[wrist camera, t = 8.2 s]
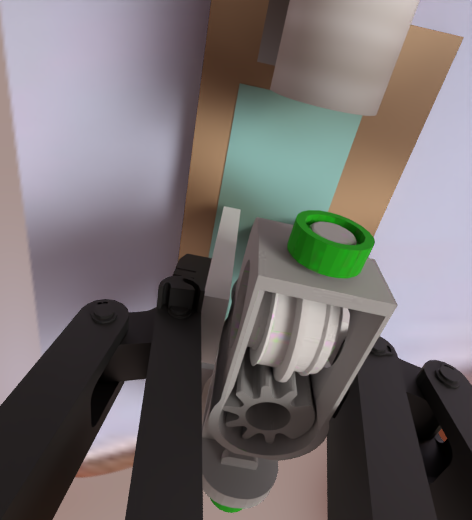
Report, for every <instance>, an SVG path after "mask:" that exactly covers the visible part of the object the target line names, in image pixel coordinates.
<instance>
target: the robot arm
mask: <svg viewBox="0 0 472 520" xmlns="http://www.w3.org/2000/svg"><path fill="white" fill-rule="evenodd" d="M240 211H241V210H240V209H235V208H230V207H225V206H224V208H223V212H222V217H221V221H220V226H219V230H218V234H217V239H216V243H215V247H214V252H213V256H212V258H208V257H203V256H198V255H193V254H186V255H184V256H183V257H182V258H180V259H179V261H178V263H177V266H176V269H175V271H174V274H173V276H171V277H168V278H166V279H164V280H163V281H161V283H160V285H159V289H158V300H157V307H156V308H154V309H152V310H148V311H143V312H128V309H127V308H126V307H125V306H124V305H123V304H122V303H120V302H117V301H115V300H107V299H104V300H96V301H93V302H91V303H88V304H87V305H86V306H84V307H83V308H82V309H81V310H80V311H79V312H78V314H77V315H76V316H75V317H74V318H73V320H72V321H71V322H70V323H69V324H68V326H67V327H66V328H65V329H64V330H63V332H62V333H61V334H60V335H59V336H58V338H57V339H56V340H55V341H54V342H53V343H52V345H51V346H50V347H49V348H48V349H47V351H46V352H45V353H44V354H43V355H42V357H41V358H40V359H39V360H38V362H37V363H36V364H35V365H34V366H33V367H32V369H31V370H30V371H29V372H28V373H27V375H26V376H25V377H24V378H23V379H22V381H21V382H20V383H19V384H18V386H17V387H16V388H15V389H14V390H13V391H12V393H11V394H10V395H9V396H8V397H7V398H6V400H5V401H4V402H3V403H2V404H1V406H0V520H52V519H53V518H54V516H55V514H56V512H57V510H58V508H59V506H60V504H61V502H62V500H63V499H64V496H65V495H66V493H67V491H68V489H69V487H70V485H71V483H72V481H73V479H74V478H75V476H76V474H77V472H78V470H79V468H80V466H81V464H82V462H83V460H84V458H85V457H86V455H87V453H88V451H89V449H90V447H91V445H92V443H93V441H94V439H95V437H96V436H97V434H98V432H99V430H100V428H101V426H102V424H103V422H104V420H105V418H106V416H107V414H108V413H109V411H110V409H111V407H112V405H113V403H114V401H115V399H116V397H117V395H118V393H119V392H120V390H121V388H122V386H123V384H124V382H125V381H128V380H138V379H146V383H145V390H144V396H143V403H142V410H141V417H140V423H139V430H138V437H137V443H136V450H135V457H134V463H133V470H132V477H131V484H130V490H129V497H128V504H127V510H126V517H125V520H203V492H202V491H203V486H202V363H201V362H204V363H209V364H215V359H216V355H217V351H218V347H219V342H220V338H221V334H222V329H223V325H224V321H225V316H226V312H227V308H228V304H229V299H230V291H231V283H232V275H233V267H234V259H235V251H236V243H237V235H238V227H239V219H240ZM349 319H350V309H348V308H343V318H342V325H341V330H340V334H339V337H338V341H337V344H336V346H335V348H334V350H333V352H332V354H331V355H330V357H329V358H328V360H329V363H330V365H331V366H332V365H333V364H334V363H335V362H336V360H337V358H338V357H339V355H340V353H341V351H342V348H343V346H344V342H345V339H346V336H347V331H348V326H349ZM441 429H443V431H444V433H445V435H446V437H447V440H446V441H445V442H444V441H443V440H442V439H441V437H440V436H439V434H438V432H439V431H440V430H441ZM327 497H328V520H472V385H471V384H470V383H469V381H468V380H467V379H466V377H465V376H464V375H463V374H462V373H461V372H460V371H458V370H457V369H456V368H454V367H453V366H451V365H449V364H447V363H445V362H441V361H437V360H429V361H428V362H426V363H425V364H424V366H423V367H422V368H420V367H417V366H415V365H413V364H410V363H408V362H406V361H403V360H401V359H399V358H398V356H397V353H396V351H395V349H394V347H393V346H392V345H391V344H390V343H389V342H388V341H386V340H385V339H383V338H382V337H380V336H379V338H378V339H377V341H376V343H375V344H374V346H373V348H372V349H371V351H370V353H369V355H368V356H367V358H366V360H365V361H364V363H363V365H362V366H361V368H360V370H359V372H358V373H357V375H356V377H355V378H354V380H353V382H352V383H351V385H350V387H349V389H348V390H347V392H346V394H345V395H344V397H343V399H342V400H341V402H340V404H339V406H338V407H337V409H336V411H335V412H334V414H333V416H332V417H331V419H330V421H329V431H328V434H327Z"/></svg>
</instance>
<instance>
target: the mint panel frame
mask: <svg viewBox="0 0 472 520" xmlns="http://www.w3.org/2000/svg"><path fill="white" fill-rule="evenodd" d="M419 1H420V0H211V6H210V13H209V21H208V29H207V37H206V45H205V53H204V61H203V68H202V76H201V84H200V92H199V100H198V108H197V116H196V123H195V131H194V139H193V147H192V155H191V163H190V171H189V178H188V186H187V194H186V202H185V210H184V218H183V226H182V233H181V241H180V249H179V257H178V261H179V259H180V258H182V257H183V256H184V255H186V254H193V255H198V256H203V257H208V258H212V256H213V252H214V247H215V243H216V239H217V234H218V230H219V226H220V221H221V217H222V212H223V208H224V206H225V207H230V208H235V209H240V210H241V211H240V219H239V227H238V235H237V243H236V251H235V259H234V267H233V275H232V283H231V291H230V299H229V304H228V308H227V312H226V316H225V320H226V319H227V317H228V314H229V310H230V307H231V303H232V300H231V292H232V288H233V285H234V283H235V282H236V280H237V279H238V277H239V273H240V269H241V266H242V262H243V258H244V255H245V251H246V247H247V243H248V240H249V235H250V232H251V229H252V226H253V223H254V221H255V219H256V217H259V218H264V219H268V220H273V221H277V222H282V223H286V224H291V225H294V222H295V219H296V217H297V215H298V214H299V213H300V212H302V211H307V210H320V211H326V212H331V213H334V214H338V215H341V216H343V217H346V218H348V219H350V220H352V221H354V222H356V223H358V224H359V225H361V226H362V227H364V228H365V229H366V230H367V231H369V232H370V233H371V235H372V236H373V237H374V234H375V232H376V230H377V228H378V226H379V223H380V221H381V219H382V217H383V215H384V212H385V210H386V208H387V206H388V204H389V201H390V199H391V197H392V195H393V192H394V190H395V188H396V186H397V184H398V181H399V179H400V177H401V175H402V173H403V170H404V168H405V166H406V164H407V161H408V159H409V157H410V155H411V153H412V150H413V148H414V146H415V144H416V142H417V139H418V137H419V135H420V133H421V131H422V128H423V126H424V124H425V122H426V119H427V117H428V115H429V113H430V111H431V108H432V106H433V104H434V102H435V100H436V97H437V95H438V93H439V91H440V89H441V86H442V84H443V82H444V80H445V77H446V75H447V73H448V71H449V69H450V66H451V64H452V62H453V60H454V58H455V55H456V53H457V51H458V49H459V46H460V44H461V42H462V40H463V38H464V37H460V36H456V35H452V34H448V33H443V32H439V31H435V30H431V29H426V28H422V27H418V26H414V25H411V22H412V20H413V17H414V14H415V12H416V9H417V6H418V4H419ZM224 322H225V321H224ZM219 343H220V342H219ZM218 350H219V347H218ZM217 355H218V351H217ZM217 355H216V359H217ZM216 359H215V363H216ZM201 363H202V421H203V416H204V410H205V405H206V400H207V395H208V390H209V386H210V382H211V378H212V374H213V370H214V366H215V364H209V363H204V362H201Z"/></svg>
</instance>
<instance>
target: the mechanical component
mask: <svg viewBox="0 0 472 520" xmlns="http://www.w3.org/2000/svg"><path fill="white" fill-rule="evenodd" d="M374 243H375V241H374V238H373V236H372V235H371V233H370V232H369V231H367V230H366V229H365V228H364V227H362V226H361V225H359V224H358V223H356V222H354V221H352V220H350V219H348V218H346V217H343V216H341V215H338V214H334V213H331V212H326V211H320V210H307V211H302V212H300V213H299V214H298V215H297V217H296V219H295V222H294V225H291V224H286V223H282V222H277V221H273V220H268V219H264V218H259V217H256V219H255V221H254V223H253V226H252V229H251V232H250V235H249V240H248V243H247V247H246V251H245V255H244V258H243V262H242V266H241V269H240V273H239V277H238V279H237V280H236V282H235V283H234V285H233V288H232V292H231V300H232V303H231V307H230V310H229V314H228V317H227V319H226V320H225V322H224V325H223V329H222V334H221V338H220V343H219V350H218V355H217V359H216V363H215V366H214V370H213V374H212V378H211V382H210V386H209V390H208V395H207V400H206V405H205V410H204V416H203V421H202V486H203V490H204V492H205V493H206V494H207V495H208V496H209V497H210V499H211V501H212V502H213V504H214V505H215V506H216V507H218V508H219V509H220V510H223V511H225V512H231V513H232V512H238V511H240V510H242V509H245V508H251V507H253V506H256V505H258V504H259V503H261V502H262V501H263V500H264V499H265V498H266V496H267V495H268V494H269V492H270V489H271V488H272V486H273V484H274V482H275V480H276V477H277V473H278V461H279V460H286V459H292V458H296V457H300V456H302V455H305V454H307V453H309V452H311V451H313V450H314V449H316V448H317V447H318V446H319V445H320V444H321V443H322V442H323V441H324V440H325V438H326V437H327V434H328V431H329V421H330V419H331V417H332V416H333V414H334V412H335V411H336V409H337V407H338V406H339V404H340V402H341V400H342V399H343V397H344V395H345V394H346V392H347V390H348V389H349V387H350V385H351V383H352V382H353V380H354V378H355V377H356V375H357V373H358V372H359V370H360V368H361V366H362V365H363V363H364V361H365V360H366V358H367V356H368V355H369V353H370V351H371V349H372V348H373V346H374V344H375V343H376V341H377V339H378V338H379V336H380V334H381V332H382V331H383V329H384V327H385V326H386V324H387V322H388V321H389V319H390V317H391V315H392V314H393V312H394V310H395V309H396V307H397V303H396V301H395V299H394V297H393V295H392V293H391V291H390V289H389V287H388V285H387V283H386V281H385V279H384V277H383V275H382V273H381V271H380V269H379V267H378V265H377V263H376V261H375V259H370V258H369V257H368V256H369V254H370V252H371V250H372V248H373V246H374ZM343 308H348V309H350V319H349V326H348V331H347V336H346V339H345V342H344V346H343V348H342V351H341V353H340V355H339V357H338V358H337V360H336V362H335V363H334V364H333V365H332V366H331V365H330V363H329V360H328V358H329V357H330V355H331V354H332V352H333V350H334V348H335V346H336V344H337V341H338V337H339V334H340V330H341V325H342V318H343Z"/></svg>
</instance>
